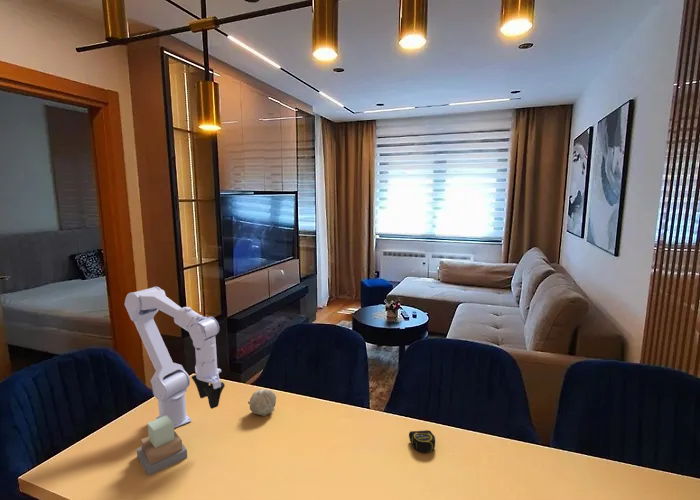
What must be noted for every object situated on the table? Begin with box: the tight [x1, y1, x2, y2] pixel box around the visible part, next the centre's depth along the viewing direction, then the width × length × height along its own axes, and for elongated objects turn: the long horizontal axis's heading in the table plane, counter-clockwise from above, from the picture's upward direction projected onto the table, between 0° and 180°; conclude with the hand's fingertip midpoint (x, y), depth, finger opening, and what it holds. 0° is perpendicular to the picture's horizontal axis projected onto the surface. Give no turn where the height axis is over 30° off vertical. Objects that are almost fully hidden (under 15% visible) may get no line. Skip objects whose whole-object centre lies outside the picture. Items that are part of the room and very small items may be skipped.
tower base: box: [136, 443, 188, 477], centre depth 103 cm, size 10×10×3 cm
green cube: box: [147, 415, 175, 448], centre depth 102 cm, size 5×5×5 cm
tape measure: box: [408, 429, 436, 453], centre depth 107 cm, size 7×7×4 cm
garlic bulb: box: [247, 388, 277, 417], centre depth 123 cm, size 9×8×9 cm
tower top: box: [140, 430, 183, 464], centre depth 102 cm, size 8×8×3 cm
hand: (209, 401), depth 112 cm, fingers open, 7 cm apart
